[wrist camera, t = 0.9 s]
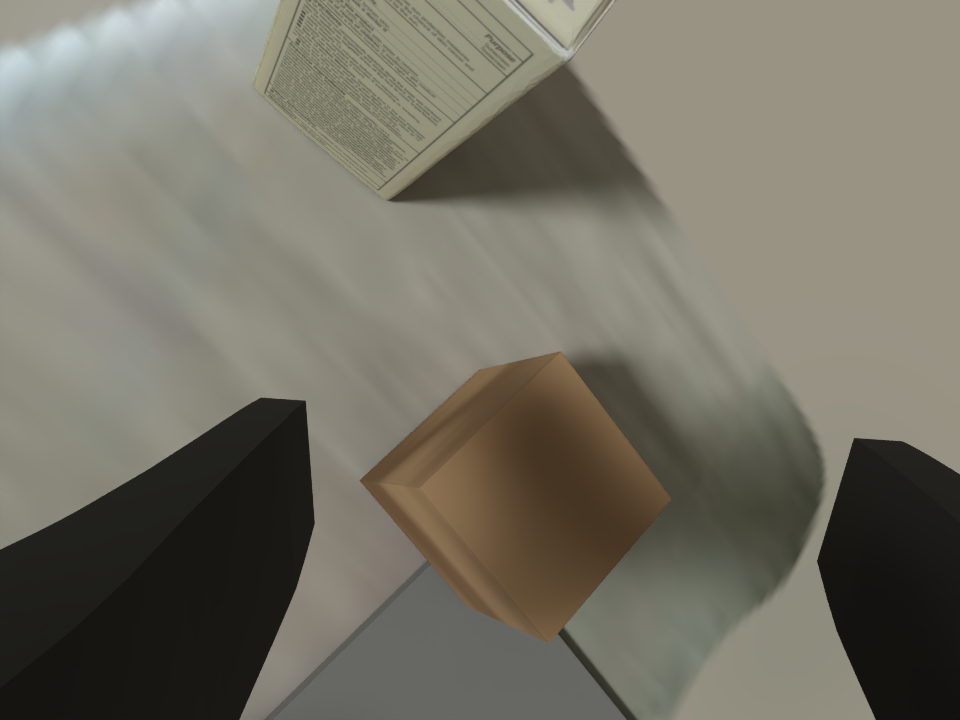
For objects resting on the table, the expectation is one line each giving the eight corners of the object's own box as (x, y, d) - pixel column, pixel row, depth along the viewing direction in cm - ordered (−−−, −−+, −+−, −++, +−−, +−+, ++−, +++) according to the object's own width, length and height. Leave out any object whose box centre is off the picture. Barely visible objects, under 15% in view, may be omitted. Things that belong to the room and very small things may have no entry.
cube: (466, 605, 23) (549, 643, 19) (359, 480, 22) (419, 488, 18) (573, 490, 25) (672, 498, 21) (479, 370, 24) (561, 351, 20)
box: (466, 105, 24) (704, -90, 14) (384, 208, 23) (581, 76, 13) (332, -25, 23) (493, -350, 12) (238, 79, 21) (331, -185, 11)
